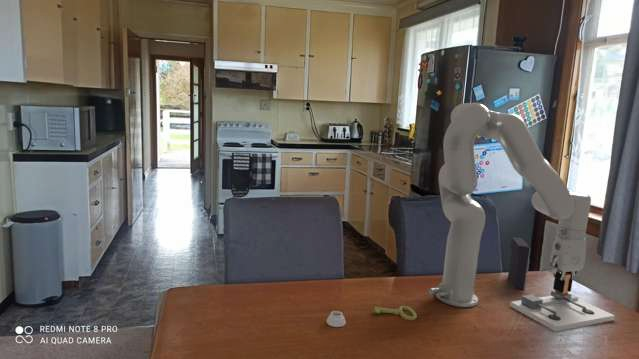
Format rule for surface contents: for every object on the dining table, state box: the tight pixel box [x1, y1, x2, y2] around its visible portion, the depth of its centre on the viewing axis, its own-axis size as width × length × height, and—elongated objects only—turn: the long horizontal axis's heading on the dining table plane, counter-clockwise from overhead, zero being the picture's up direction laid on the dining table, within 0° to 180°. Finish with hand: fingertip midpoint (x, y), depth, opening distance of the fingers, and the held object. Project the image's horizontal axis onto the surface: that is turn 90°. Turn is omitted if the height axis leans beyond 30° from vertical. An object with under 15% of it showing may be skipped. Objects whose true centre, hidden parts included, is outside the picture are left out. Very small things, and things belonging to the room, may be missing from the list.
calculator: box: [507, 237, 531, 290], centre depth 156 cm, size 11×4×15 cm, turn 168°
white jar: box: [326, 310, 347, 328], centre depth 119 cm, size 5×3×5 cm
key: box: [373, 305, 418, 321], centre depth 126 cm, size 7×12×2 cm, turn 112°
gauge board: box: [509, 294, 615, 332], centre depth 135 cm, size 24×16×4 cm, turn 113°
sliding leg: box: [550, 271, 586, 311], centre depth 136 cm, size 4×10×8 cm, turn 23°
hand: (561, 290), depth 139 cm, fingers closed on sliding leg, 2 cm apart
